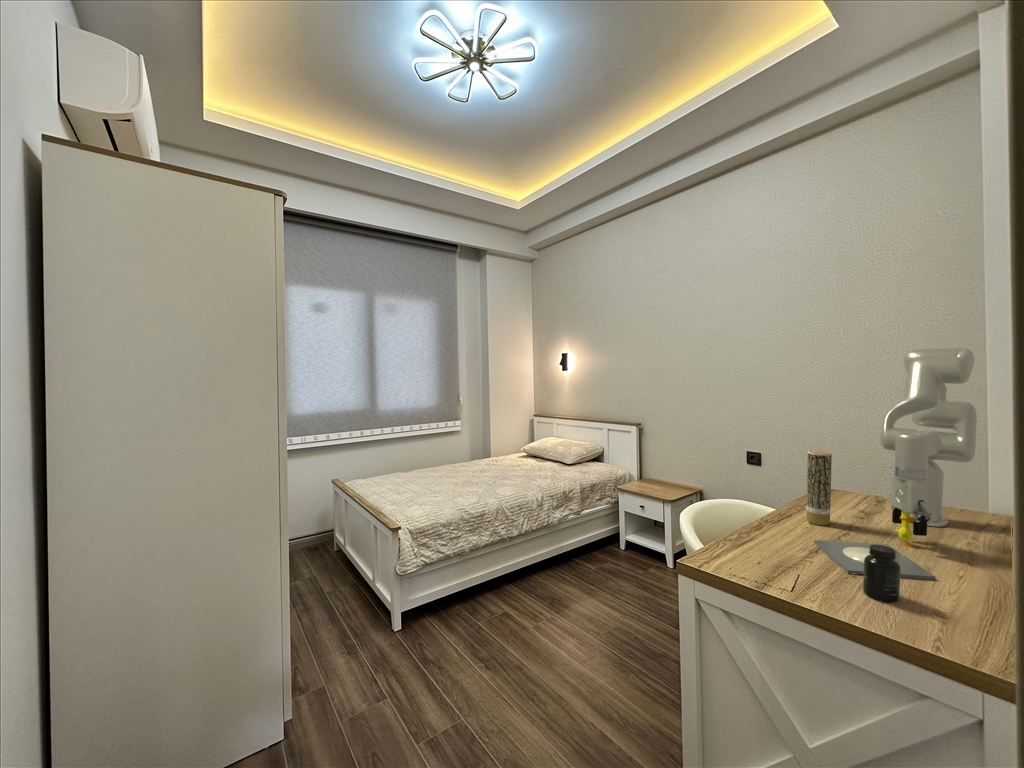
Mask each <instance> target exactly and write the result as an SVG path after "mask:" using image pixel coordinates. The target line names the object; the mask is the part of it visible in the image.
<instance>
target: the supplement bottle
mask: <svg viewBox="0 0 1024 768" xmlns="http://www.w3.org/2000/svg"><path fill="white" fill-rule="evenodd" d="M874 544H875V545H871V546H870V551H869V554H870V555H868V556H866V557H865V559H864V575H863V579H862V580H863V582H862V584H863V585H862V590H863V593H864V594H865V595H866V596H867V597H869V598H870V597H871V599H872V598H873V600H874V601H877V600H878V602H881V603H885V602H886V604H895V603H897V602H899V600H900V595H901V594H900V591H901V589H900V588H901V578H900V571H901V568H900V565H899V563H898V562H897V561H895V559H896V556H895V554H896V552H895V550H896V549H895V548H894V549H895V550H894V549H892V548H893V547H892V548H890V547H887V546H883V545H876V544H877V543H874Z"/></svg>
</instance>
